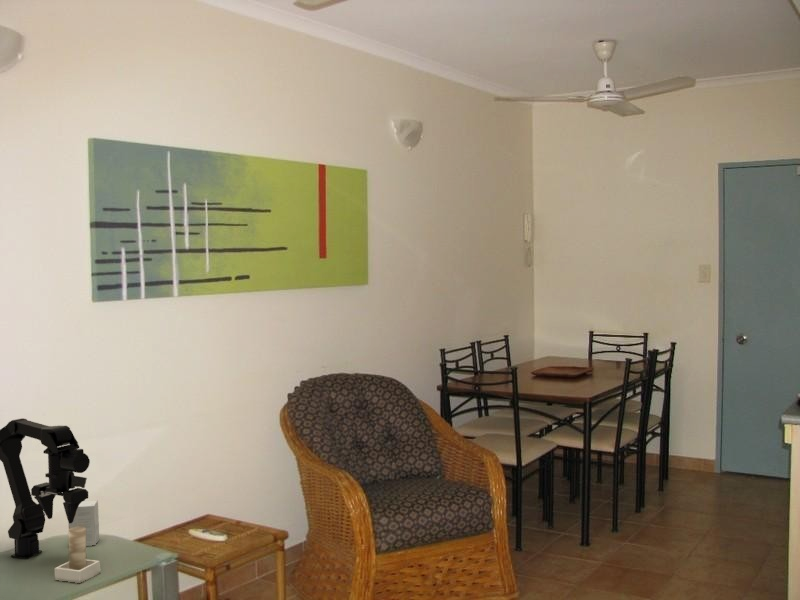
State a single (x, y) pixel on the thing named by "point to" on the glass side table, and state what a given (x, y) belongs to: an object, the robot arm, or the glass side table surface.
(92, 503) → the small box
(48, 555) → the glass side table surface
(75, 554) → the tan rounded rod
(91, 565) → the white square tray
